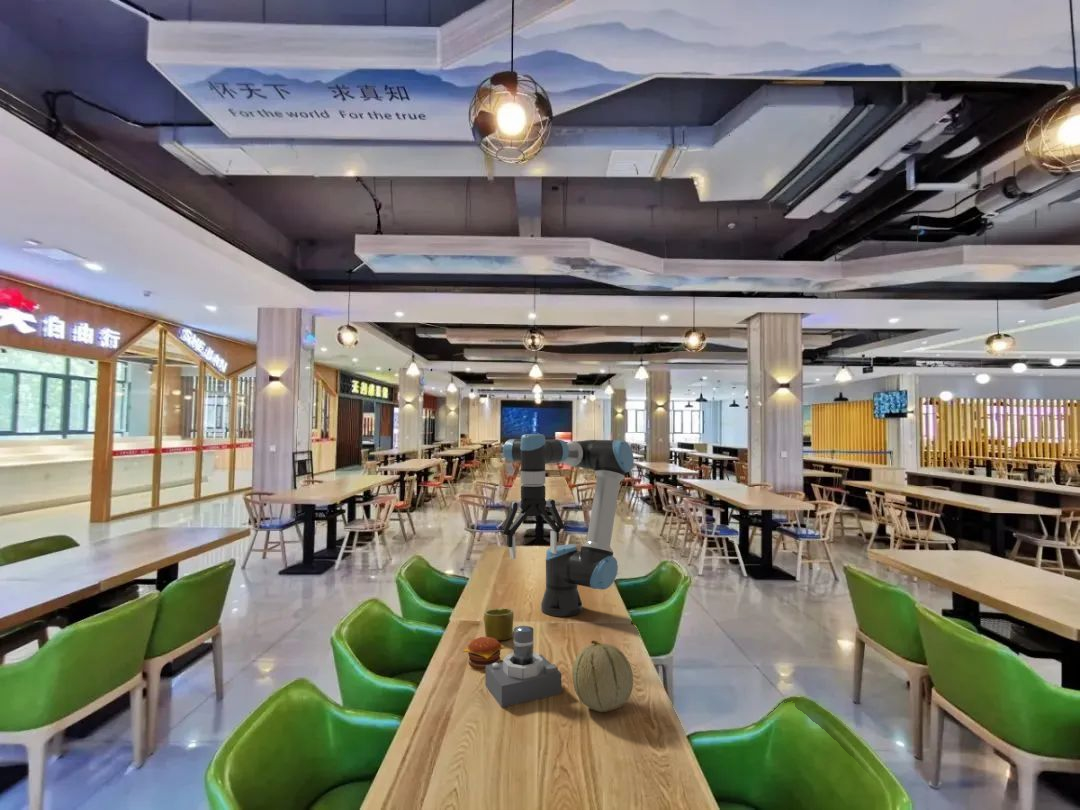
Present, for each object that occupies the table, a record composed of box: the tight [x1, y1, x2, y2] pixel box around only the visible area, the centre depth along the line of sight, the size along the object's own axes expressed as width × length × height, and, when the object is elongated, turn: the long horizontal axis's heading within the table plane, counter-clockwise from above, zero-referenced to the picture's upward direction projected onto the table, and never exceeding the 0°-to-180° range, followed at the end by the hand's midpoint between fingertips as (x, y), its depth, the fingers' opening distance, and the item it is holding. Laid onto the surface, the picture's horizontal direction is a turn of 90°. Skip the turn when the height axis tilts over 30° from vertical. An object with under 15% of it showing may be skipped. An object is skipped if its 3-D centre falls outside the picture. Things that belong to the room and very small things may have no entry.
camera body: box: [485, 652, 562, 708], centre depth 135 cm, size 16×12×8 cm
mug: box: [483, 607, 514, 642], centre depth 170 cm, size 12×10×10 cm
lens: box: [513, 625, 534, 666], centre depth 135 cm, size 5×5×10 cm
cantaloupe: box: [571, 639, 634, 713], centre depth 126 cm, size 15×15×15 cm
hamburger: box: [462, 636, 506, 670], centre depth 151 cm, size 9×10×7 cm
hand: (533, 555), depth 160 cm, fingers open, 13 cm apart
